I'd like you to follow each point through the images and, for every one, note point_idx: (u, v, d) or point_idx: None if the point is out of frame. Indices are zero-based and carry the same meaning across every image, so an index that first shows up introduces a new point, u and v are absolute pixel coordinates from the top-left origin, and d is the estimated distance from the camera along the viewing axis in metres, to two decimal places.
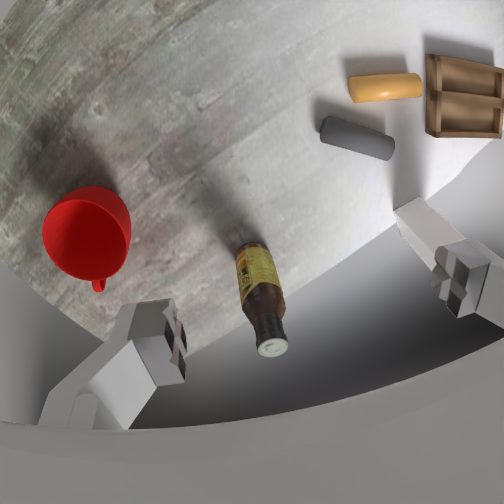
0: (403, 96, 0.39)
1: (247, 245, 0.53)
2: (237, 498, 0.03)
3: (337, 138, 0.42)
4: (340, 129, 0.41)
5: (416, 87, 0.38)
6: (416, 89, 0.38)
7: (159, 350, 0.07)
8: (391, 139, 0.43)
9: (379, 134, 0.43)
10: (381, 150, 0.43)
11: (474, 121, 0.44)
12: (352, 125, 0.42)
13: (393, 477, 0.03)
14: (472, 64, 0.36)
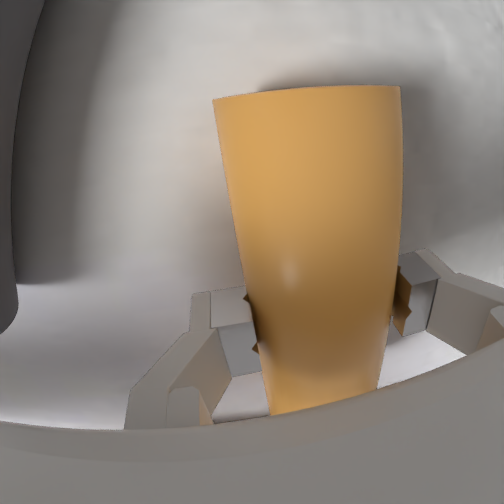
0: (309, 401, 0.08)
1: None
2: (237, 498, 0.03)
3: None
4: None
5: None
6: None
7: (243, 337, 0.07)
8: None
9: None
10: None
11: None
12: None
13: (392, 478, 0.03)
14: None
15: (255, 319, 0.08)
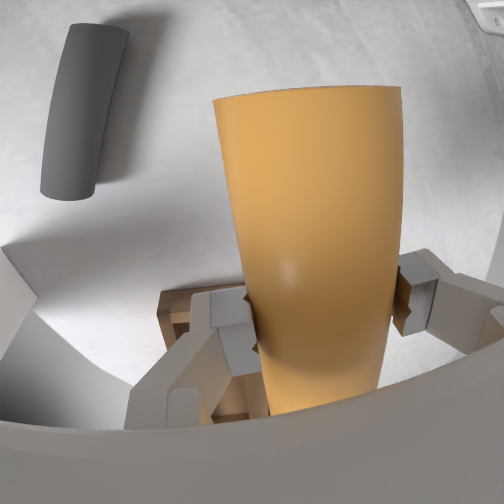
0: (309, 401, 0.08)
1: None
2: (237, 498, 0.03)
3: None
4: None
5: None
6: None
7: (243, 337, 0.07)
8: (43, 187, 0.17)
9: (48, 154, 0.16)
10: None
11: None
12: (61, 78, 0.14)
13: (392, 477, 0.03)
14: None
15: (255, 319, 0.08)
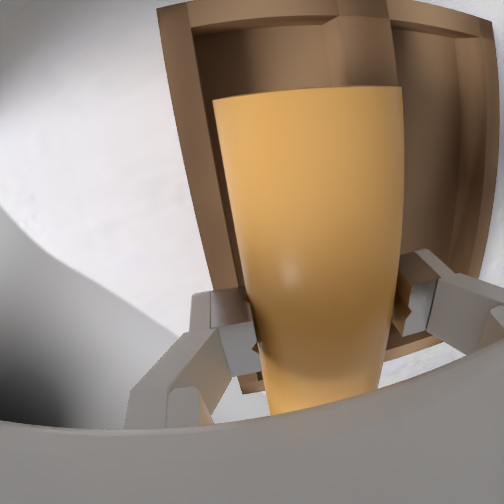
0: (309, 402, 0.08)
1: None
2: (237, 498, 0.03)
3: None
4: None
5: None
6: None
7: (243, 337, 0.07)
8: None
9: None
10: None
11: None
12: None
13: (393, 477, 0.03)
14: (488, 191, 0.12)
15: (255, 321, 0.08)
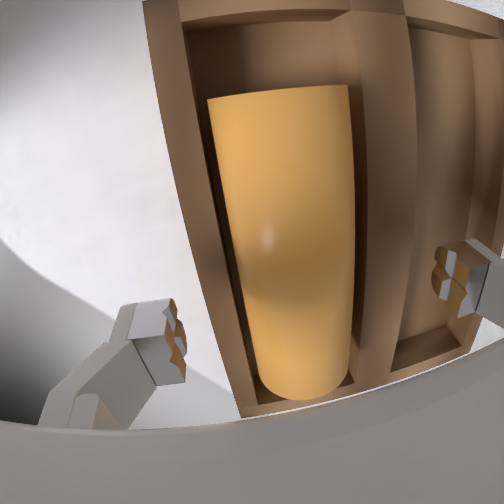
0: (281, 342, 0.10)
1: None
2: (237, 498, 0.03)
3: None
4: None
5: (326, 375, 0.11)
6: (318, 378, 0.11)
7: (159, 350, 0.07)
8: None
9: None
10: None
11: None
12: None
13: (393, 477, 0.03)
14: None
15: (239, 267, 0.10)
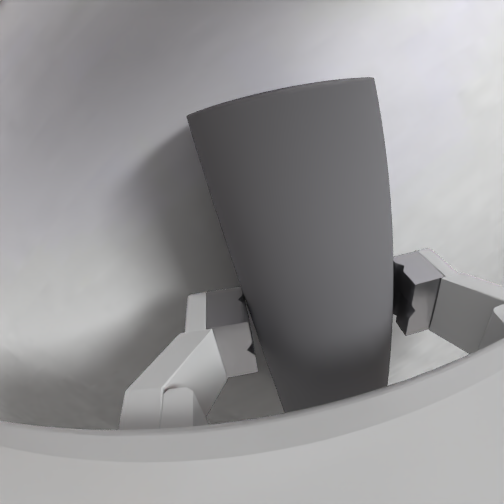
0: None
1: None
2: (237, 498, 0.03)
3: None
4: None
5: None
6: None
7: (239, 338, 0.07)
8: (205, 141, 0.06)
9: (233, 243, 0.07)
10: (348, 213, 0.05)
11: None
12: (278, 381, 0.09)
13: (393, 477, 0.03)
14: None
15: None
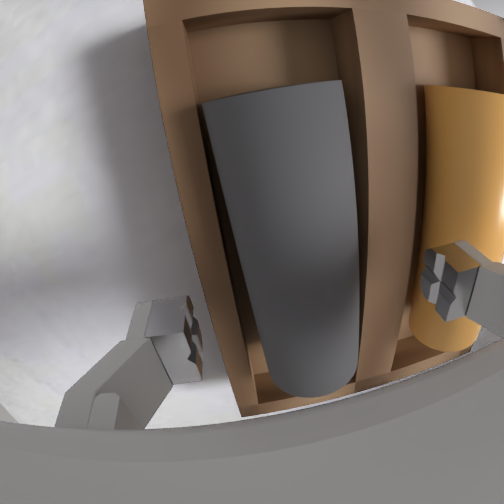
0: None
1: None
2: (237, 498, 0.03)
3: (338, 369, 0.11)
4: (302, 377, 0.11)
5: None
6: None
7: (177, 348, 0.07)
8: (215, 120, 0.08)
9: (230, 198, 0.09)
10: (315, 175, 0.08)
11: None
12: (261, 326, 0.11)
13: (393, 477, 0.03)
14: (218, 285, 0.11)
15: None
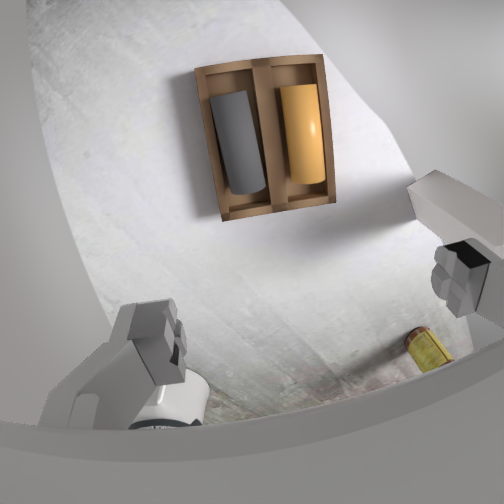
0: (315, 114, 0.32)
1: (406, 345, 0.56)
2: (237, 498, 0.03)
3: (252, 180, 0.34)
4: (239, 182, 0.34)
5: (299, 96, 0.30)
6: (302, 96, 0.30)
7: (159, 350, 0.07)
8: (212, 102, 0.31)
9: (216, 122, 0.32)
10: (235, 114, 0.30)
11: None
12: (225, 164, 0.34)
13: (392, 477, 0.03)
14: (214, 151, 0.34)
15: (321, 133, 0.34)
